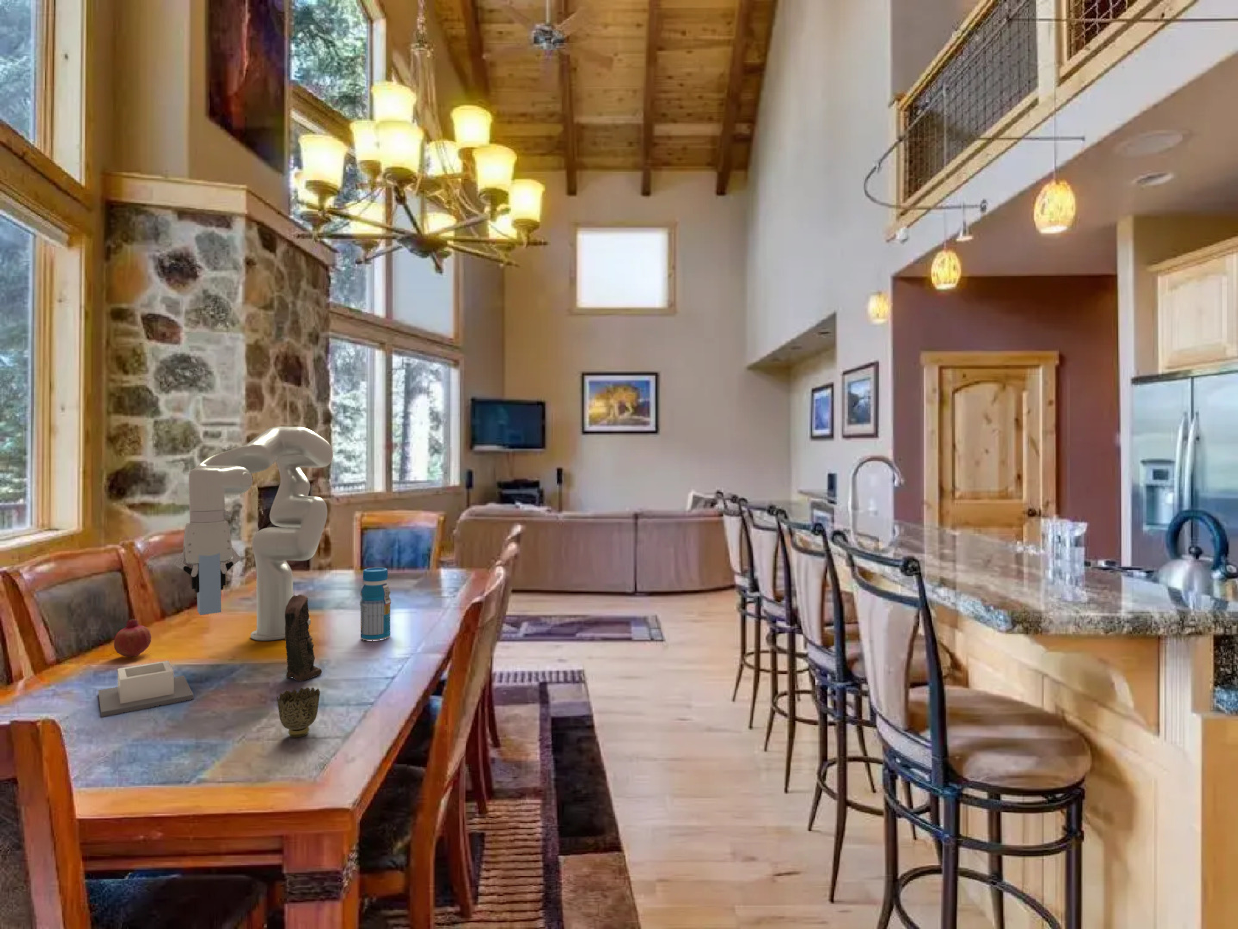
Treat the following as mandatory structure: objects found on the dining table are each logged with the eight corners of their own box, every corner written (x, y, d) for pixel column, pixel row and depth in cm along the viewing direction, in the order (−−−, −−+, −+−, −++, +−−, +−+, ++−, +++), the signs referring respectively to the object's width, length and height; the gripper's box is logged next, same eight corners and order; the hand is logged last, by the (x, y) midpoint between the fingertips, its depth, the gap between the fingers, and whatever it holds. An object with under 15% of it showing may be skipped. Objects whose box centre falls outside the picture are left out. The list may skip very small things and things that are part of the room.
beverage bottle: (366, 644, 191) (366, 573, 191) (355, 637, 198) (355, 569, 197) (395, 638, 197) (395, 569, 197) (384, 632, 203) (383, 565, 203)
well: (183, 679, 161) (183, 654, 161) (193, 699, 148) (193, 671, 148) (98, 694, 151) (98, 667, 151) (101, 717, 138) (101, 687, 138)
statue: (323, 674, 165) (322, 592, 165) (300, 683, 159) (300, 598, 158) (300, 671, 168) (300, 590, 167) (277, 680, 161) (277, 596, 160)
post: (218, 608, 174) (217, 550, 173) (221, 612, 170) (220, 552, 169) (197, 611, 171) (196, 551, 170) (200, 615, 167) (199, 554, 167)
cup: (286, 727, 134) (286, 687, 134) (325, 726, 134) (325, 686, 134) (270, 743, 126) (270, 701, 126) (311, 742, 127) (311, 700, 127)
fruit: (131, 662, 174) (131, 623, 173) (105, 660, 175) (105, 622, 175) (159, 653, 182) (158, 616, 181) (133, 651, 183) (133, 614, 183)
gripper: (242, 513, 178) (243, 583, 178) (165, 518, 167) (166, 592, 168) (248, 516, 172) (249, 588, 173) (168, 521, 161) (170, 598, 162)
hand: (208, 589), depth 170 cm, fingers closed on post, 4 cm apart
